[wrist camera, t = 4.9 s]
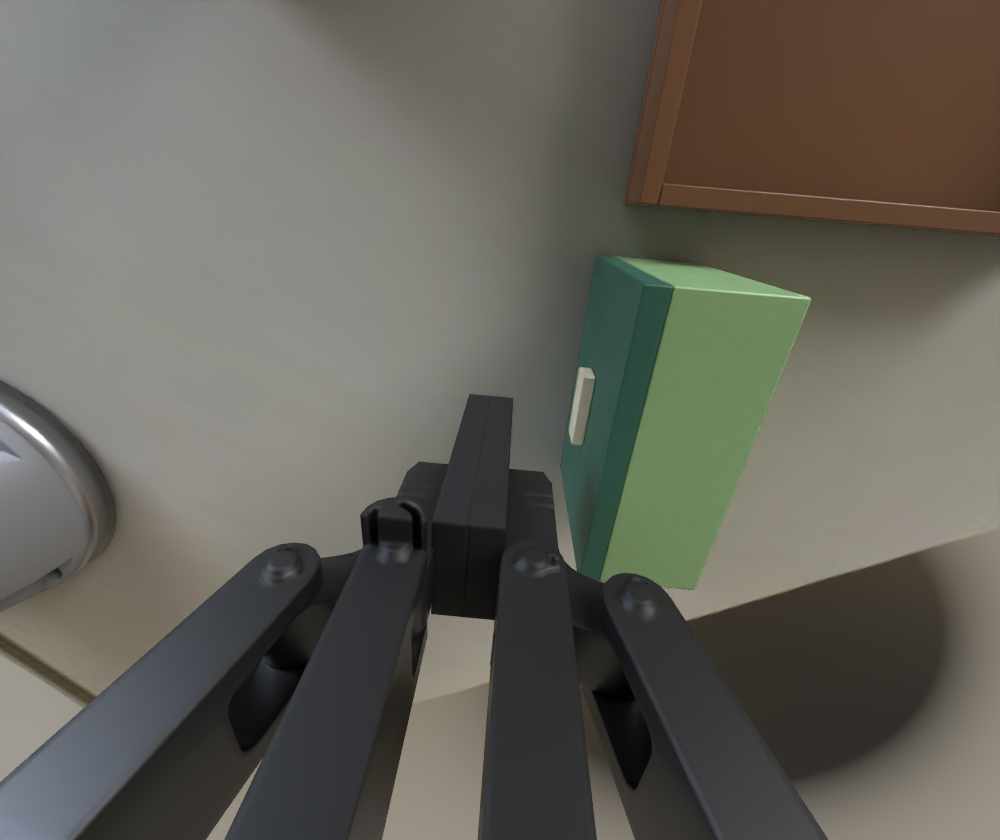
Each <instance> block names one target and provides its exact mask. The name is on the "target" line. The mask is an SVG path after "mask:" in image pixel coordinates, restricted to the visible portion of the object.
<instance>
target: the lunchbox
mask: <svg viewBox="0 0 1000 840" xmlns="http://www.w3.org/2000/svg"><path fill="white" fill-rule="evenodd" d="M810 302H811V298H810V297H807V296H804V295H801V294H797V293H794V292H791V291H787V290H784V289H781V288H778V287H774V286H771V285H768V284H764V283H761V282H758V281H755V280H751V279H748V278H745V277H741V276H738V275H735V274H732V273H728V272H725V271H722V270H718V269H715V268H712V267H709V266H705V265H702V264H699V263H689V262H678V261H666V260H654V259H643V258H631V257H619V256H615V257H614V256H608V255H596V257H595V263H594V269H593V275H592V281H591V287H590V293H589V299H588V305H587V311H586V317H585V323H584V329H583V335H582V341H581V347H580V353H579V359H578V365H577V371H576V377H575V383H574V388H573V394H572V400H571V406H570V412H569V418H568V424H567V430H566V436H565V442H564V448H563V454H562V460H561V472H562V479H563V485H564V491H565V498H566V504H567V510H568V517H569V523H570V529H571V536H572V542H573V548H574V555H575V561H576V567H577V572H578V573H580V574H582V575H584V576H587V577H589V578H592V579H594V580H597V581H601V582H606V581H607V580H608V579H609V578H610V577H612V576H613V575H617V574H620V573H634V574H638V575H641V576H644V577H647V578H649V579H650V580H652V581H654V582H655V583H657V584H658V585H660V586H661V587H667V588H678V589H690V590H694V589H695V587H696V585H697V583H698V580H699V578H700V575H701V573H702V570H703V568H704V565H705V563H706V560H707V558H708V555H709V553H710V550H711V548H712V545H713V543H714V540H715V538H716V535H717V533H718V530H719V528H720V525H721V523H722V520H723V518H724V515H725V513H726V510H727V508H728V506H729V503H730V501H731V498H732V496H733V493H734V491H735V488H736V486H737V483H738V481H739V478H740V476H741V473H742V471H743V468H744V466H745V463H746V461H747V458H748V456H749V453H750V451H751V448H752V446H753V443H754V441H755V438H756V436H757V433H758V431H759V429H760V426H761V424H762V421H763V419H764V416H765V414H766V411H767V409H768V406H769V404H770V401H771V399H772V396H773V394H774V391H775V389H776V386H777V384H778V381H779V379H780V376H781V374H782V371H783V369H784V366H785V364H786V361H787V359H788V356H789V354H790V352H791V349H792V347H793V344H794V342H795V339H796V337H797V334H798V332H799V329H800V327H801V324H802V322H803V319H804V317H805V314H806V312H807V309H808V307H809V304H810Z"/></svg>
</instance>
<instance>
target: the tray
mask: <svg viewBox="0 0 1000 840" xmlns="http://www.w3.org/2000/svg"><path fill="white" fill-rule="evenodd" d="M624 204H625V205H637V206H648V207H660V208H672V209H684V210H696V211H707V212H719V213H731V214H743V215H754V216H766V217H778V218H790V219H802V220H813V221H825V222H837V223H849V224H860V225H872V226H884V227H896V228H908V229H919V230H931V231H943V232H955V233H966V234H978V235H990V236H1000V0H662V2H661V8H660V13H659V18H658V24H657V29H656V35H655V40H654V45H653V51H652V56H651V61H650V67H649V72H648V78H647V83H646V88H645V94H644V99H643V104H642V110H641V115H640V121H639V126H638V131H637V137H636V142H635V147H634V153H633V158H632V164H631V169H630V174H629V180H628V185H627V190H626V196H625V201H624Z"/></svg>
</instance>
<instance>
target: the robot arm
mask: <svg viewBox="0 0 1000 840" xmlns="http://www.w3.org/2000/svg"><path fill="white" fill-rule="evenodd" d="M512 410H513V398H506V397H495V396H485V395H474V394H469V397H468V401H467V404H466V408H465V411H464V414H463V418H462V421H461V425H460V428H459V431H458V435H457V438H456V441H455V445H454V448H453V452H452V455H451V458H450V462H449V464H438V463H428V462H418V463H417V464H416V465H415V466H413V467H412V468H411V469H410V470H408V471H407V474H406V476H405V478H404V480H403V483H402V485H401V487H400V489H399V492H398V495H397V496H396V497H395V498H387V499H383V500H379V501H376V502H375V503H373V504H371V505H369V506H368V507H367V508H366V509H365V510H364V511H363V512H362V513H361V515H360V516H361V527H362V538H363V548H362V549H361V550H358V551H356V552H353V553H349V554H345V555H340V556H333V557H327V558H320V556H319V555H318V553H317V551H316V549H314V548H313V547H311V546H309V545H307V544H302V543H287V544H280V545H278V546H275V547H272V548H270V549H267V550H265V551H264V552H262V553H261V554H259V555H258V556H256V557H255V558H254V559H252V560H251V561H250V562H249V563H248V564H247V565H246V566H245V567H243V568H242V569H241V570H240V571H239V572H238V573H237V574H235V575H234V576H233V577H232V578H231V579H230V580H229V581H228V582H226V583H225V584H224V585H223V586H222V587H221V588H220V589H218V590H217V591H216V592H215V593H214V594H213V595H212V596H211V597H209V598H208V599H207V600H206V601H205V602H204V603H203V604H201V605H200V606H199V607H198V608H197V609H196V610H195V611H194V612H192V613H191V614H190V615H189V616H188V617H187V618H186V619H184V620H183V621H182V622H181V623H180V624H179V625H178V626H177V627H175V628H174V629H173V630H172V631H171V632H170V633H169V634H167V635H166V636H165V637H164V638H163V639H162V640H161V641H160V642H158V643H157V644H156V645H155V646H154V647H153V648H152V649H150V650H149V651H148V652H147V653H146V654H145V655H144V656H143V657H141V658H140V659H139V660H138V661H137V662H136V663H135V664H133V665H132V666H131V667H130V668H129V669H128V670H127V671H126V672H124V673H123V674H122V675H121V676H120V677H119V678H118V679H116V680H115V681H114V682H113V683H112V684H111V685H110V686H109V687H107V688H106V689H105V690H104V691H103V692H102V693H101V694H99V695H98V696H97V697H96V698H95V699H94V700H93V701H92V702H90V703H89V704H88V705H87V706H86V707H85V708H84V709H82V710H81V711H80V712H79V713H78V714H77V715H76V716H75V717H73V718H72V719H71V720H70V721H69V722H68V723H67V724H66V725H64V726H63V727H62V728H61V729H60V730H59V731H58V732H56V733H55V734H54V735H53V736H52V737H51V738H50V739H49V740H48V741H46V742H45V743H44V744H43V745H42V746H41V747H39V748H38V749H37V750H36V751H35V752H34V753H33V754H31V756H29V757H28V758H27V759H26V760H25V761H24V762H22V763H21V764H20V765H19V766H18V767H17V768H16V769H15V770H13V771H12V772H11V773H10V774H9V775H8V776H7V777H5V778H4V779H3V780H2V781H1V782H0V840H206V839H207V837H208V836H209V834H210V833H211V831H212V830H213V828H214V827H215V826H216V824H217V823H218V821H219V820H220V818H221V817H222V815H223V814H224V812H225V811H226V810H227V808H228V807H229V805H230V804H231V803H232V801H233V800H234V798H235V797H236V795H237V794H238V793H239V791H240V790H241V788H242V787H243V785H244V784H245V782H246V781H247V780H248V778H249V777H250V775H251V774H252V773H253V771H254V769H255V768H256V767H257V765H258V764H259V762H260V761H261V760H262V761H261V764H260V766H259V768H258V770H257V772H256V774H255V776H254V778H253V780H252V782H251V785H250V787H249V789H248V791H247V793H246V795H245V797H244V800H243V801H242V804H241V806H240V808H239V810H238V812H237V814H236V816H235V818H234V820H233V823H232V825H231V827H230V829H229V831H228V833H227V835H226V837H225V840H382V836H383V831H384V827H385V823H386V818H387V814H388V810H389V805H390V800H391V796H392V792H393V787H394V783H395V778H396V774H397V769H398V765H399V760H400V756H401V751H402V747H403V742H404V738H405V733H406V729H407V725H408V720H409V716H410V711H411V707H412V702H413V698H414V693H415V689H416V684H417V680H418V675H419V671H420V666H421V662H422V657H423V653H424V649H425V644H426V640H427V620H428V615H429V611H430V607H431V614H438V615H448V616H458V617H469V618H479V619H489V620H495V623H494V634H493V643H492V652H491V662H490V665H491V670H490V683H489V697H488V710H487V723H486V737H485V750H484V762H483V775H482V789H481V803H480V815H479V829H478V840H597V837H596V829H595V820H594V811H593V802H592V793H591V786H590V777H589V768H588V759H587V749H586V741H585V732H584V723H583V714H582V705H581V697H580V688H579V684H581V685H582V689H583V692H584V695H585V698H586V701H587V704H588V707H589V710H590V712H591V715H592V718H593V721H594V724H595V726H596V730H597V732H598V735H599V738H600V741H601V743H602V747H603V749H604V752H605V755H606V758H607V761H608V764H609V767H610V769H611V772H612V775H613V778H614V781H615V784H616V787H617V789H618V792H619V795H620V798H621V800H622V804H623V806H624V809H625V812H626V815H627V818H628V821H629V824H630V827H631V829H632V832H633V835H634V838H635V840H828V838H827V837H826V835H825V834H824V832H823V831H822V829H821V828H820V826H819V825H818V823H817V822H816V820H815V819H814V817H813V815H812V814H811V812H810V811H809V809H808V808H807V806H806V805H805V803H804V802H803V800H802V799H801V797H800V795H799V794H798V792H797V791H796V790H795V788H794V786H793V785H792V783H791V782H790V780H789V779H788V777H787V776H786V774H785V773H784V771H783V770H782V768H781V766H780V765H779V763H778V762H777V760H776V759H775V757H774V756H773V754H772V753H771V751H770V750H769V748H768V746H767V745H766V743H765V742H764V740H763V739H762V737H761V736H760V734H759V733H758V732H757V730H756V728H755V727H754V725H753V723H752V722H751V720H750V719H749V717H748V716H747V714H746V713H745V711H744V710H743V708H742V707H741V705H740V704H739V702H738V700H737V699H736V697H735V696H734V694H733V693H732V691H731V690H730V688H729V687H728V685H727V684H726V682H725V681H724V679H723V677H722V676H721V674H720V673H719V671H718V670H717V668H716V667H715V665H714V664H713V662H712V661H711V659H710V658H709V656H708V655H707V653H706V651H705V650H704V648H703V647H702V646H701V644H700V642H699V641H698V639H697V638H696V636H695V635H694V633H693V632H692V630H691V628H690V627H689V625H688V624H687V622H686V621H685V619H684V618H683V616H682V615H681V613H680V612H679V610H678V609H677V607H676V605H675V604H674V602H673V601H672V599H671V598H670V596H669V595H668V594H667V593H666V592H665V591H664V590H663V588H662V587H661V586H660V585H658V584H657V583H655V582H654V581H652V580H650V579H649V578H647V577H644V576H641V575H638V574H634V573H620V574H617V575H613V576H612V577H610V578H609V579H608V580H607V581H606V582H605V583H603V582H600V581H597V580H594V579H592V578H589V577H587V576H584V575H582V574H580V573H578V572H577V571H575V570H574V569H572V568H571V567H570V566H569V565H568V564H567V563H566V562H565V561H564V560H563V557H562V555H561V554H560V552H559V548H558V541H557V531H556V521H555V512H554V502H553V492H552V483H551V482H550V481H549V479H548V478H547V476H546V475H545V474H544V472H537V471H527V470H516V469H509V463H510V445H511V427H512ZM115 522H116V514H115V506H114V502H113V497H112V494H111V492H110V489H109V486H108V484H107V482H106V480H105V478H104V476H103V474H102V472H101V471H100V469H99V467H98V466H97V464H96V463H95V461H94V460H93V458H92V457H91V456H90V454H89V453H88V452H87V450H86V449H85V448H84V447H83V445H82V444H81V443H80V442H79V441H78V440H77V439H76V438H75V437H74V436H73V434H72V433H71V432H70V431H69V430H68V429H67V428H66V427H64V426H63V425H62V424H61V423H60V422H59V421H58V420H57V419H56V418H54V417H53V416H52V415H51V414H50V413H48V412H47V411H46V410H45V409H43V408H42V407H41V406H39V405H38V404H37V403H35V402H34V401H33V400H31V399H30V398H28V397H27V396H25V395H24V394H22V393H21V392H19V391H17V390H16V389H14V388H12V387H11V386H9V385H7V384H5V383H4V382H2V381H0V611H3V610H5V609H7V608H9V607H11V606H13V605H15V604H17V603H19V602H21V601H24V600H26V599H28V598H30V597H32V596H34V595H36V594H38V593H40V592H42V591H45V590H47V589H49V588H51V587H53V586H55V585H58V584H60V583H62V582H65V581H66V580H68V579H69V578H71V577H72V576H74V575H75V574H76V573H77V572H78V571H80V570H81V569H82V568H83V567H85V566H86V565H87V564H88V563H89V562H91V561H92V560H93V559H94V558H96V557H97V556H98V555H99V554H100V553H101V552H103V551H104V549H105V548H106V547H107V546H108V544H109V542H110V541H111V539H112V536H113V533H114V529H115ZM262 758H263V759H262Z"/></svg>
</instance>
